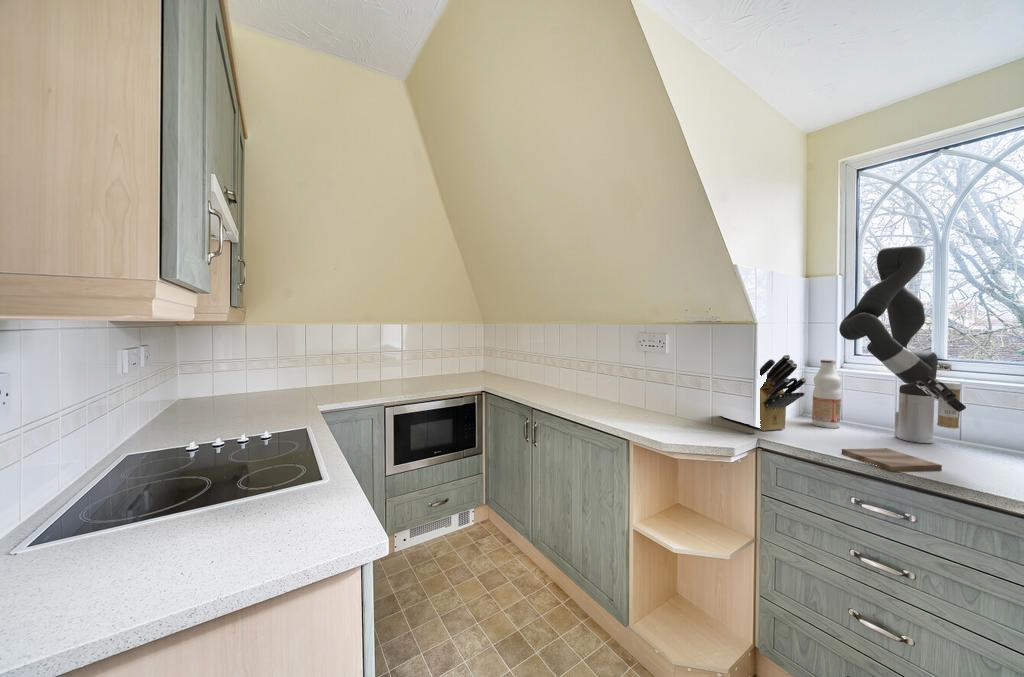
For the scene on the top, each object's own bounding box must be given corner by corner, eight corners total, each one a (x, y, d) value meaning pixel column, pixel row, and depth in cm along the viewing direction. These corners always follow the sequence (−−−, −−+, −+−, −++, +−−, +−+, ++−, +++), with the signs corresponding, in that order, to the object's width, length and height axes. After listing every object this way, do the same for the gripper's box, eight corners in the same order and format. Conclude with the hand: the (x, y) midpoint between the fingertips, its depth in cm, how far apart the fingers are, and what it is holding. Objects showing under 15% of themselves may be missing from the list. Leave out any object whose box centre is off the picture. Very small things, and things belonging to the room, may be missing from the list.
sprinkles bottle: (960, 427, 118) (963, 382, 117) (957, 429, 115) (960, 383, 115) (938, 424, 121) (940, 380, 121) (934, 426, 119) (937, 381, 118)
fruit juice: (817, 427, 165) (820, 360, 164) (807, 422, 174) (809, 358, 173) (844, 429, 162) (847, 361, 161) (833, 423, 171) (835, 359, 170)
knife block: (782, 438, 148) (785, 356, 147) (715, 416, 183) (717, 350, 182) (807, 436, 151) (810, 355, 150) (736, 415, 185) (738, 350, 184)
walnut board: (841, 453, 131) (841, 449, 131) (886, 452, 132) (886, 448, 132) (891, 471, 115) (891, 466, 115) (941, 470, 116) (941, 465, 116)
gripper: (928, 358, 114) (986, 404, 109) (906, 355, 127) (957, 396, 122) (903, 375, 117) (958, 421, 112) (884, 370, 130) (932, 411, 125)
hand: (957, 408), depth 117 cm, fingers closed on sprinkles bottle, 4 cm apart
